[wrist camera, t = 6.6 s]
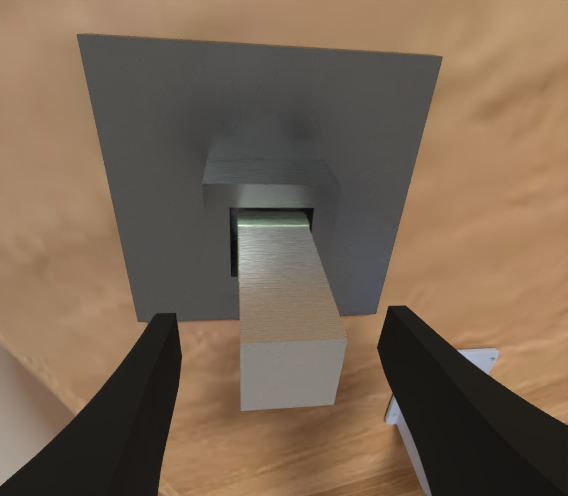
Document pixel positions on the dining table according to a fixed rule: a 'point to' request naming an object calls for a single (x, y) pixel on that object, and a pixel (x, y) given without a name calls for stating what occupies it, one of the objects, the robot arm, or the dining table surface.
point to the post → (285, 315)
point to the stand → (253, 159)
